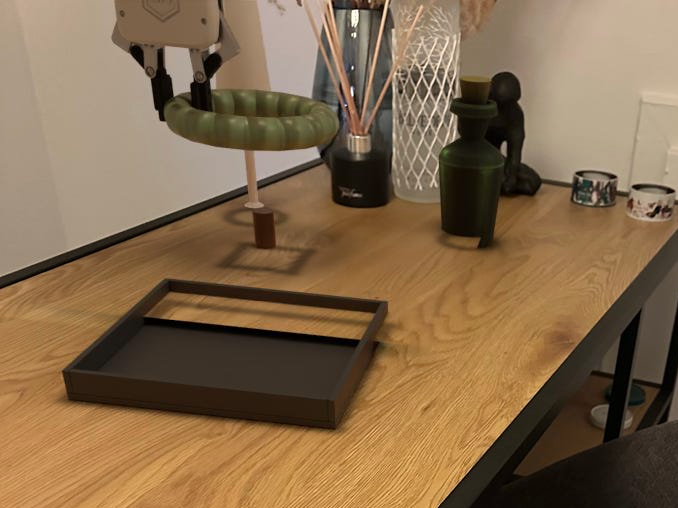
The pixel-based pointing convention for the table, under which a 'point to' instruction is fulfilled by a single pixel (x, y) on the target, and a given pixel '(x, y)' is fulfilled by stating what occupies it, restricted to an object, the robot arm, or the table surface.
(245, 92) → the ring
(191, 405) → the tray
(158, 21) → the robot arm
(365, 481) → the table surface
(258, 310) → the table surface
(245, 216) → the table surface
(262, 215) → the post
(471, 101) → the potion bottle
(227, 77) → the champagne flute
